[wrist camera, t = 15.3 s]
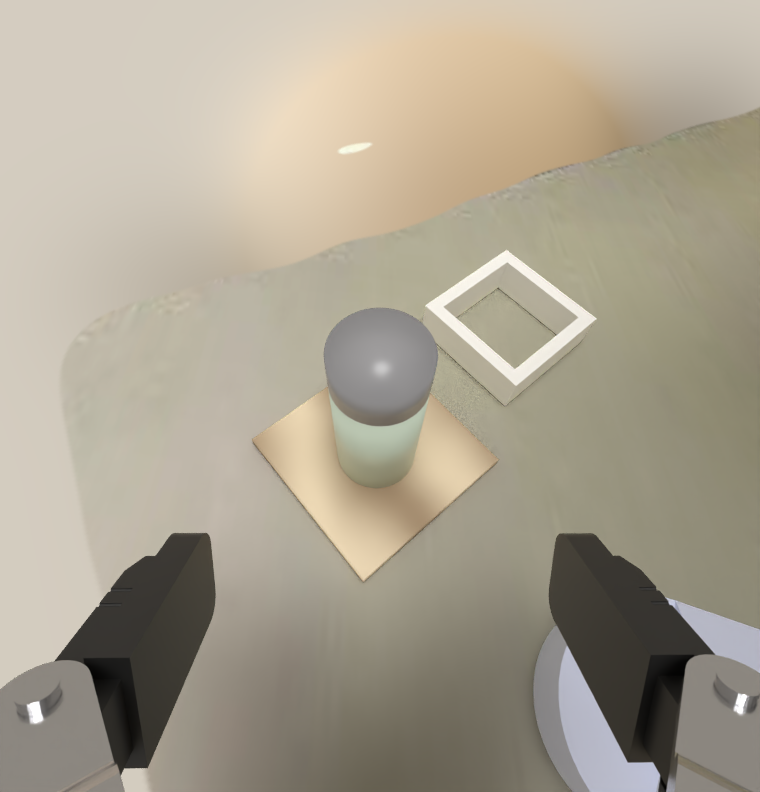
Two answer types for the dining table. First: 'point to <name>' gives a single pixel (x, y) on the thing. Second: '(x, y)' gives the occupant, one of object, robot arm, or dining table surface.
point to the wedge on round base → (583, 720)
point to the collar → (529, 294)
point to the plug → (379, 392)
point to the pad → (372, 507)
